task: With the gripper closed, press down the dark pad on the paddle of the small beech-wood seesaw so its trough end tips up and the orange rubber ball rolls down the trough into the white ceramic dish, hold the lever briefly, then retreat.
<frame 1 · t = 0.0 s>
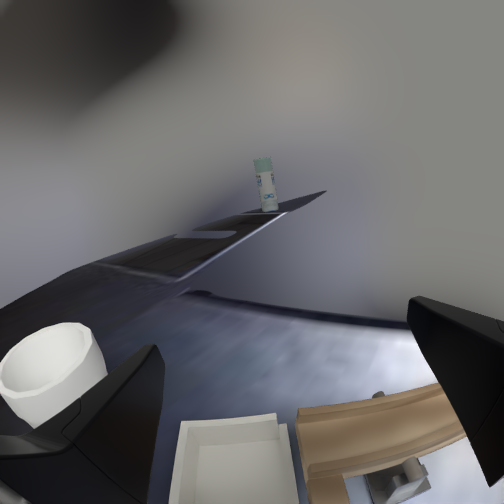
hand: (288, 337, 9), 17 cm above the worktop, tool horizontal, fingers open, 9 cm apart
lever: (434, 472, 10), point 4 cm above the worktop, hinge at 10.5°, touching ball
spray paint can: (270, 210, 108), on the worktop
foam cup: (116, 457, 19), on the worktop
dish: (240, 480, 17), on the worktop
fulcrum: (387, 458, 16), on the worktop
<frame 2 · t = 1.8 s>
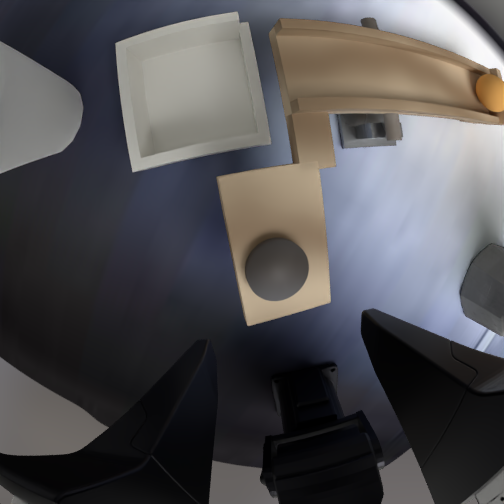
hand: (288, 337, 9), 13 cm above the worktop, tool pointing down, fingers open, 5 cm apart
lever: (411, 143, 15), point 4 cm above the worktop, hinge at 10.5°, touching ball
ball: (492, 92, 13), point 5 cm above the worktop, tilted 23°, touching lever
foam cup: (54, 118, 17), on the worktop
dish: (197, 94, 17), on the worktop
fulcrum: (359, 88, 17), on the worktop
coffeepot: (481, 276, 23), on the worktop
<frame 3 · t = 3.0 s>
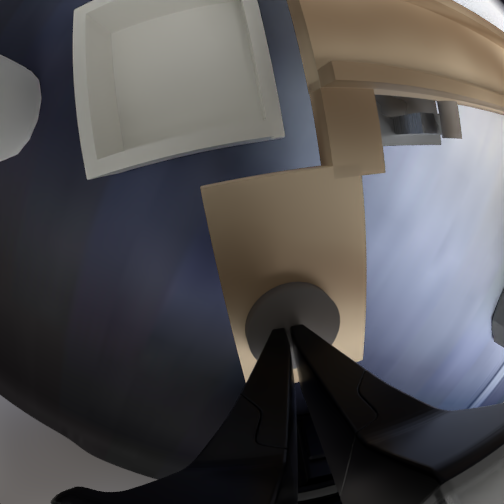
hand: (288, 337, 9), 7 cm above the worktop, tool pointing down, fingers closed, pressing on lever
lever: (472, 143, 9), point 4 cm above the worktop, hinge at 8.4°, touching ball, gripper
foam cup: (12, 113, 12), on the worktop
dish: (181, 71, 12), on the worktop
fulcrum: (395, 69, 12), on the worktop
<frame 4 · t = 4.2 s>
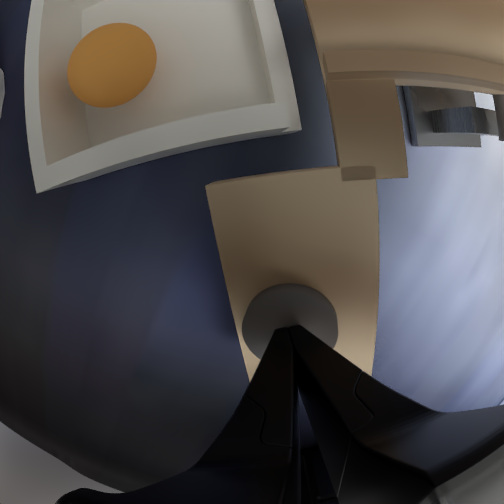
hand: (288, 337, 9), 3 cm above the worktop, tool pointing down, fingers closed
ball: (111, 64, 7), point 2 cm above the worktop, tilted 148°, touching dish
dish: (163, 49, 9), on the worktop
fulcrum: (430, 54, 9), on the worktop
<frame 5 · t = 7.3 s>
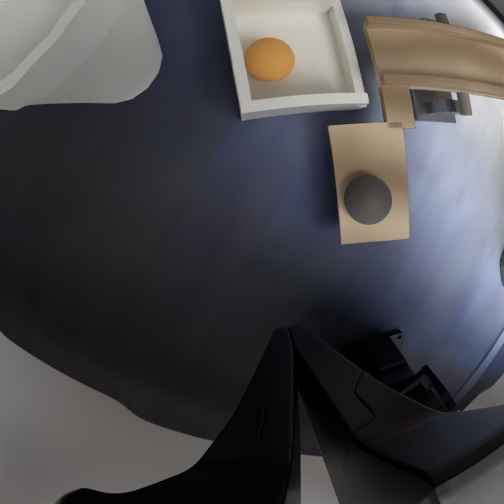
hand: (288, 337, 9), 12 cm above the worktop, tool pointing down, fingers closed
lever: (480, 118, 13), point 5 cm above the worktop, hinge at -14.2°
ball: (269, 59, 15), point 2 cm above the worktop, tilted 135°, touching dish
foam cup: (123, 65, 16), on the worktop
dish: (291, 56, 16), on the worktop
fulcrum: (425, 71, 16), on the worktop
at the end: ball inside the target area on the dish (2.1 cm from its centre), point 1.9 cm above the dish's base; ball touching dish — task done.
